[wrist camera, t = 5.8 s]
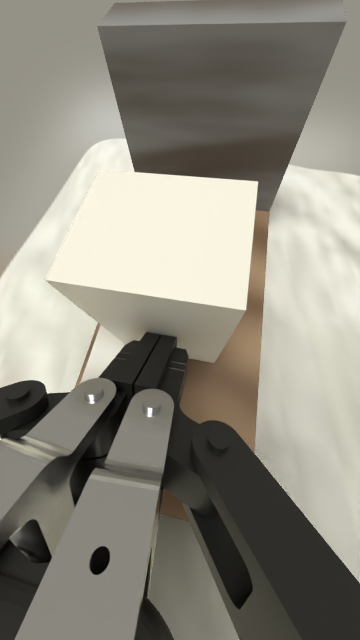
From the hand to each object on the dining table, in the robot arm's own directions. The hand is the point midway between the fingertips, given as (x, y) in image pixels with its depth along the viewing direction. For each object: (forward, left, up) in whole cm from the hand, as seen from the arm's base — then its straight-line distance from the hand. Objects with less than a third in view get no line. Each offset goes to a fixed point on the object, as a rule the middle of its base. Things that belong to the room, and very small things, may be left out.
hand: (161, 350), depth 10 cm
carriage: (+2, -4, -4) cm, 6 cm away
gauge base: (0, -6, -6) cm, 8 cm away
